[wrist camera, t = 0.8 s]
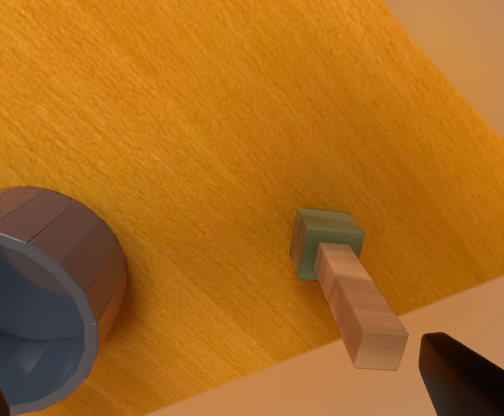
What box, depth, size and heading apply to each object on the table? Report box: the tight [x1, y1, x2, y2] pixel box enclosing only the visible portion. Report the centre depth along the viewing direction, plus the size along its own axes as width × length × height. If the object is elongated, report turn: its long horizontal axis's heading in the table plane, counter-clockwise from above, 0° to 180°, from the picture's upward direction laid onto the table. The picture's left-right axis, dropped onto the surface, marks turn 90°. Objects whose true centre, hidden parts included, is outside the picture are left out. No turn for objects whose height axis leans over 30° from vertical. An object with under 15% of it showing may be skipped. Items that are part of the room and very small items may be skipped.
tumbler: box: [0, 187, 128, 416], centre depth 20 cm, size 10×10×6 cm
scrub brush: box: [290, 208, 409, 371], centre depth 18 cm, size 3×3×10 cm
